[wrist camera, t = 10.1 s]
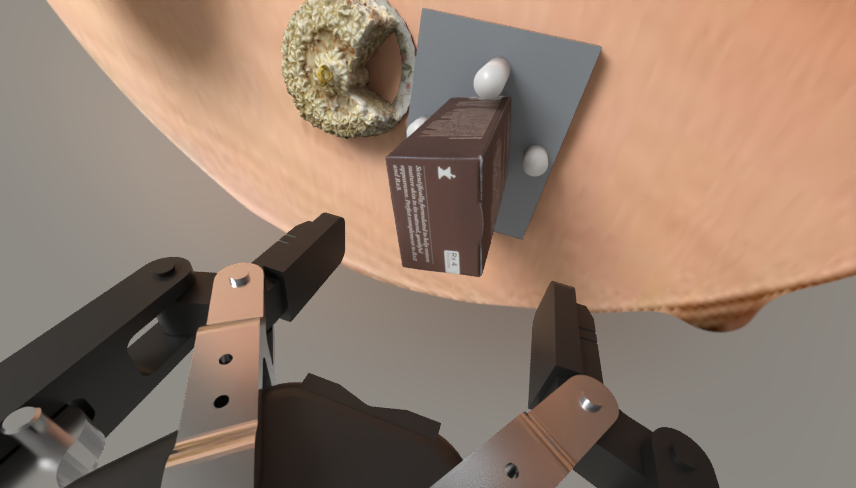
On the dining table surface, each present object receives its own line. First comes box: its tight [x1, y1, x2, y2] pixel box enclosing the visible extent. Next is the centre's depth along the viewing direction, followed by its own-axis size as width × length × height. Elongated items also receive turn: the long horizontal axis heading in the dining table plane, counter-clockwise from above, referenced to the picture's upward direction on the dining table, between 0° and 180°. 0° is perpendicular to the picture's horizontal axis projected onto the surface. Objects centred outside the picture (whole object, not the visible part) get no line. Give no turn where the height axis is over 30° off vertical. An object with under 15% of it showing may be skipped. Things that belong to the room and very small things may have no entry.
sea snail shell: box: [281, 0, 416, 139], centre depth 23 cm, size 10×10×5 cm
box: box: [386, 95, 511, 277], centre depth 19 cm, size 6×4×12 cm
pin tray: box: [405, 8, 602, 239], centre depth 23 cm, size 11×14×6 cm
